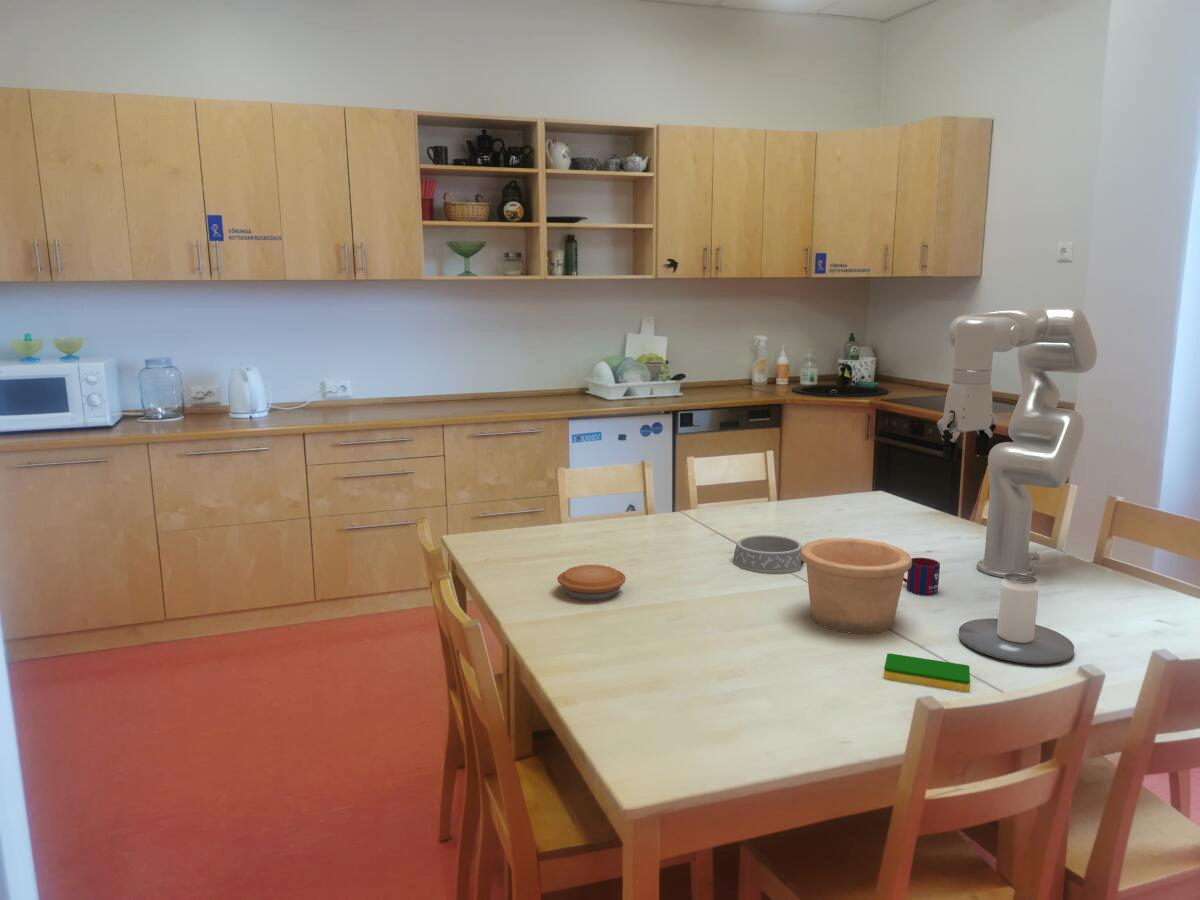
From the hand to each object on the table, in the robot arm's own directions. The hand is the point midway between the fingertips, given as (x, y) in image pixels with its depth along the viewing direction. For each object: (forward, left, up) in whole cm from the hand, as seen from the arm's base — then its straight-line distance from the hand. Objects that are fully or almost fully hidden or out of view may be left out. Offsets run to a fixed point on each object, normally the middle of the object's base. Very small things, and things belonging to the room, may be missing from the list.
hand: (965, 457), depth 184 cm
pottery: (+29, -1, -32) cm, 43 cm away
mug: (+3, -9, -32) cm, 33 cm away
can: (+10, +23, -31) cm, 40 cm away
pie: (+71, -39, -32) cm, 87 cm away
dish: (+10, +24, -32) cm, 41 cm away
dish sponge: (+36, +27, -33) cm, 55 cm away
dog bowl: (+22, -39, -32) cm, 55 cm away
